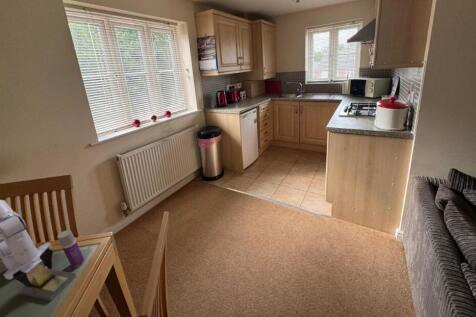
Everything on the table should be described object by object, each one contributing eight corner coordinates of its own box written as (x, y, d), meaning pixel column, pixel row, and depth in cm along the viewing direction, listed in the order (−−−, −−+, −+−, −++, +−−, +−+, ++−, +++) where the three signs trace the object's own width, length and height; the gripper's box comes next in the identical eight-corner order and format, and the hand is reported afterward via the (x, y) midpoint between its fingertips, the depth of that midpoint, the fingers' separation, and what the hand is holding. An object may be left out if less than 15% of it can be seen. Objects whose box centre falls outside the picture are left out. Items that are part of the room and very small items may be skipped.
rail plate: (20, 294, 84) (18, 290, 83) (47, 271, 93) (45, 267, 92) (51, 301, 80) (49, 297, 80) (76, 276, 89) (74, 273, 89)
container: (78, 268, 93) (64, 238, 87) (68, 267, 94) (53, 237, 88) (87, 259, 97) (74, 230, 91) (78, 258, 98) (64, 229, 92)
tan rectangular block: (33, 288, 86) (24, 274, 83) (45, 277, 90) (37, 264, 87) (42, 290, 85) (34, 276, 82) (54, 279, 89) (46, 266, 86)
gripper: (7, 266, 73) (26, 296, 78) (51, 234, 86) (65, 262, 91) (-8, 263, 75) (11, 293, 80) (37, 232, 88) (52, 260, 93)
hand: (39, 276), depth 86 cm, fingers open, 7 cm apart
